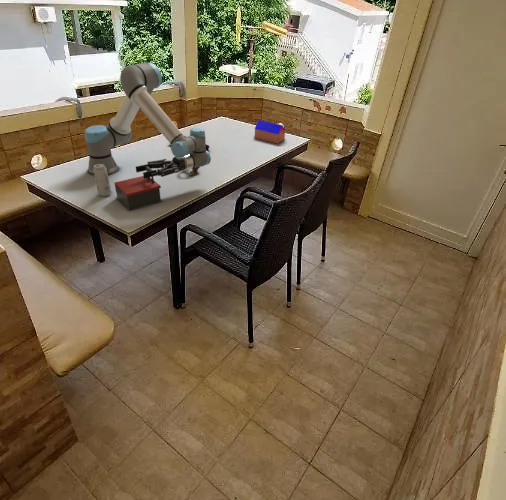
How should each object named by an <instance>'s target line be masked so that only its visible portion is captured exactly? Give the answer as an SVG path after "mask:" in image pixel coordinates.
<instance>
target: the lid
mask: <svg viewBox="0 0 506 500" xmlns="http://www.w3.org/2000/svg"><path fill="white" fill-rule="evenodd" d="M145 170H146V171H145V172H148V171H152V170H153V169H151V168H149V167H148V166H146V167H145ZM113 183H114V186H115V185H116V186H117V187H118V188H119V189H120V190H121V191H122V192H123V193H124V194H125V195H126V196H127V197H128V196H132V195H136V194H139V193H143V192H147V191H151V190H155V189H161V188H162V186H161V185H160V184H159V183H158V182H157V181H156V180H155V179H154V176H153V177H149V178H145V179H144V176H143V175H140V176H136V177H132V178H127V179H123V180H118V181H115V182H113Z"/></svg>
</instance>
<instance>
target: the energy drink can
mask: <svg viewBox="0 0 506 500" xmlns="http://www.w3.org/2000/svg"><path fill="white" fill-rule="evenodd" d="M93 172H94V174H93V177H94V180H95V186H96V189H97V194H98V195H99V196H100V197H109V196H110V195H111V193H112V190H111V185H110V180H109V179H110V178H109V174H107V169H106V167H105V166H104V164H96V165H94V168H93Z"/></svg>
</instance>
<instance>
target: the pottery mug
mask: <svg viewBox="0 0 506 500" xmlns="http://www.w3.org/2000/svg"><path fill="white" fill-rule="evenodd" d="M200 168H201V167H196V168H192V170H191V171H190V172H189V173H190V175H191V176H194V175H196V174H198V173H199V169H200Z"/></svg>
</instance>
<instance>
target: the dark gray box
mask: <svg viewBox="0 0 506 500" xmlns="http://www.w3.org/2000/svg"><path fill="white" fill-rule="evenodd" d="M114 188H115V194H116V198H117V200H119V201H120V202H121V203H122V204H123V205H124V206H125V207H126V208H127V210H128V211H132V210H135V209H139V208H142V207H147V206H149V205H154V204H156V203H161V202H162V199H161V198H162V197H161V191H160V190H161V188H159V189H155V190H151V191H147V192H143V193H139V194H136V195H132V196H128V197H127V196H126V195H125V194H124V193H123V192H122V191H121V190H120V189H119V188H118V187H117V186H116V185H115V184H114Z"/></svg>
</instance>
